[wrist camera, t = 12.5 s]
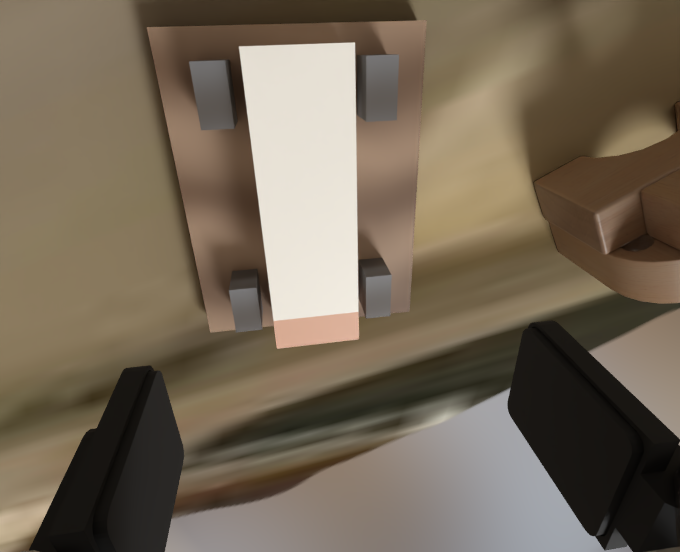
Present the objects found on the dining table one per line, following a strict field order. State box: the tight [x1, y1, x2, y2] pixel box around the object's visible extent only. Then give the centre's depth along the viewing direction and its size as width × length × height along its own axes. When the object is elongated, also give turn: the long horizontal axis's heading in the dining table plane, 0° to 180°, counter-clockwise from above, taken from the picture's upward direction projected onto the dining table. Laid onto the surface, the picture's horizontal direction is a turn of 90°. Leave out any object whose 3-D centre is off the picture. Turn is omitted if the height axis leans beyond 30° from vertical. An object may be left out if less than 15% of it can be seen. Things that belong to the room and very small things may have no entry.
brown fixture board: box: [147, 20, 427, 332], centre depth 25 cm, size 18×14×4 cm
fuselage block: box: [239, 42, 359, 349], centre depth 24 cm, size 16×5×4 cm, turn 2°
